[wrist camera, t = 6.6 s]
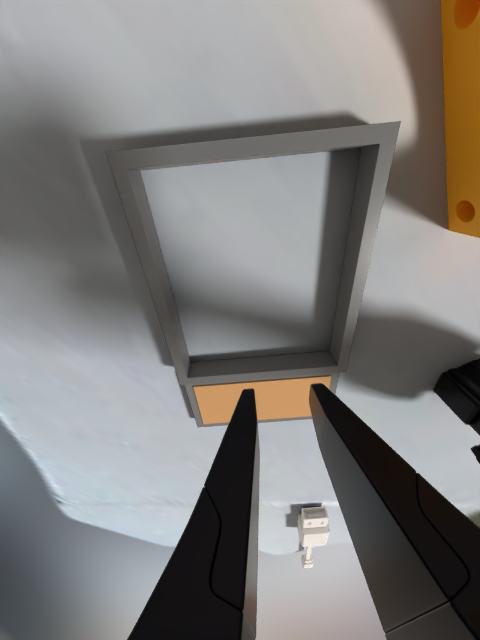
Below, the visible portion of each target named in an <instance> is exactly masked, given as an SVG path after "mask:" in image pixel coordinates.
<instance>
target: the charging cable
mask: <svg viewBox="0 0 480 640" xmlns="http://www.w3.org/2000/svg"><path fill="white" fill-rule="evenodd" d="M327 522H328V514H327V511H326V507H313V508H302V510H301V514H298V525H297V528H298V534H299V539H300V544H301V545H302V546H303V547H307V550H306V555H302V558H301V562H302V567H303V568H312V566H313V558H312V556H311V551H312V546H323V545H325V544H326V542H327V538H328V534H329V531H330V530H329V526H328V523H327Z"/></svg>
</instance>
